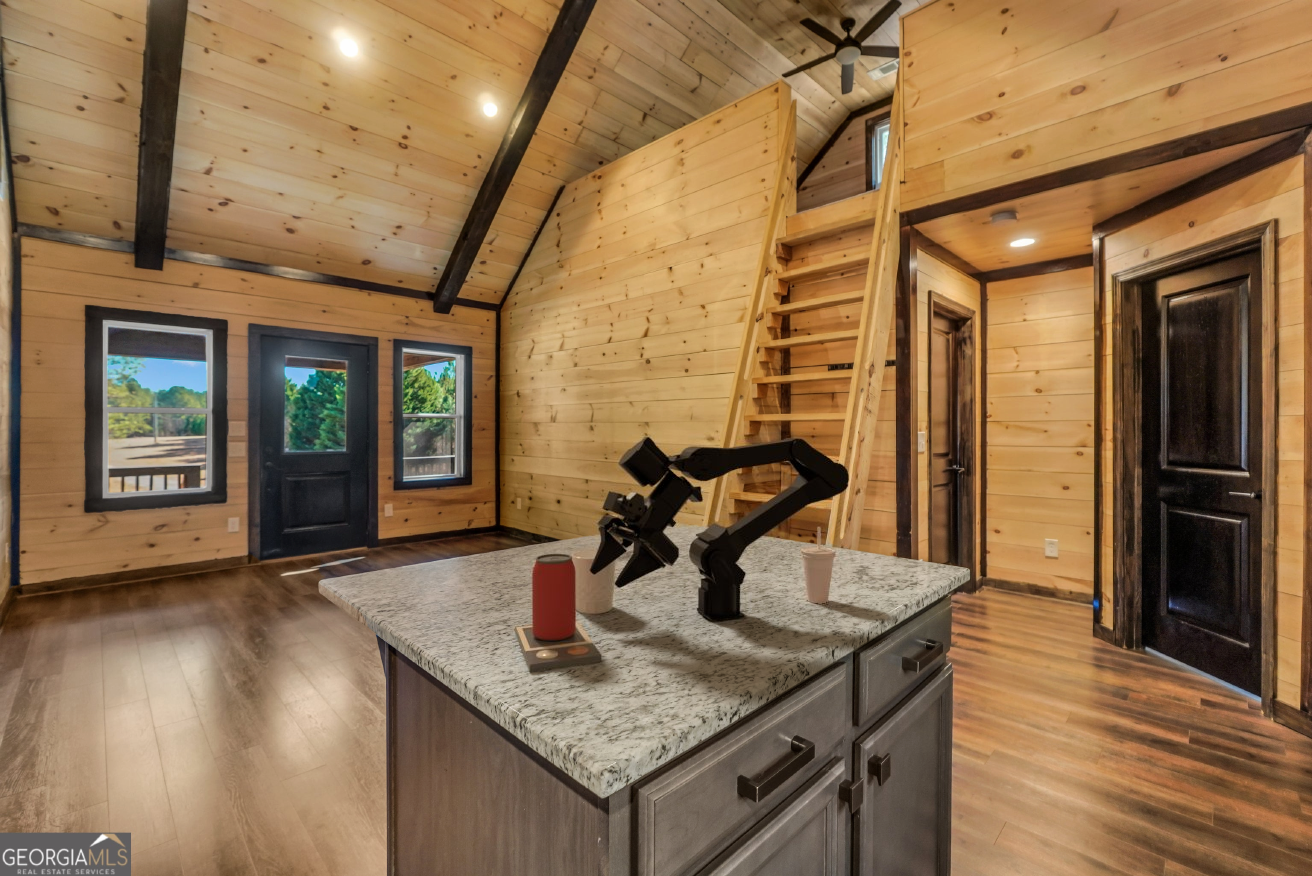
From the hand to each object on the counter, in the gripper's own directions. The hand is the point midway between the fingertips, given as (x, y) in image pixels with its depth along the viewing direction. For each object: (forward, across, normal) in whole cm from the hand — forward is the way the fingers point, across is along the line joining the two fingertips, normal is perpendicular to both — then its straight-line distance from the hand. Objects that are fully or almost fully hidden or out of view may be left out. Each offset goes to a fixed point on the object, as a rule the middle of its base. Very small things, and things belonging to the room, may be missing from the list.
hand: (603, 579), depth 95 cm
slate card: (+12, +2, 0) cm, 12 cm away
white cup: (+4, -12, +9) cm, 16 cm away
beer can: (+11, 0, 0) cm, 11 cm away
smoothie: (-23, +5, +36) cm, 44 cm away
